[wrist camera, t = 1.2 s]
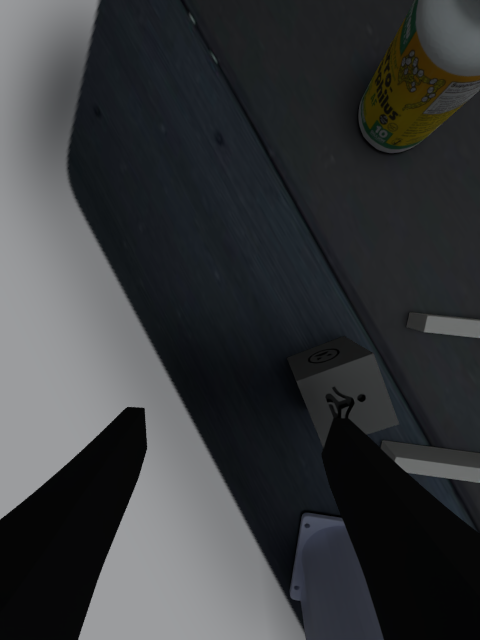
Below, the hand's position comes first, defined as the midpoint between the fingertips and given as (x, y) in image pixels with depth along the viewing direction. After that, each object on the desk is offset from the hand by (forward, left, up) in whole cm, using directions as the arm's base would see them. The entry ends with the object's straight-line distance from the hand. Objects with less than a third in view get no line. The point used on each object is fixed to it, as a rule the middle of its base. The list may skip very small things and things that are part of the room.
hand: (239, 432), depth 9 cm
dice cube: (-1, -7, -11) cm, 13 cm away
